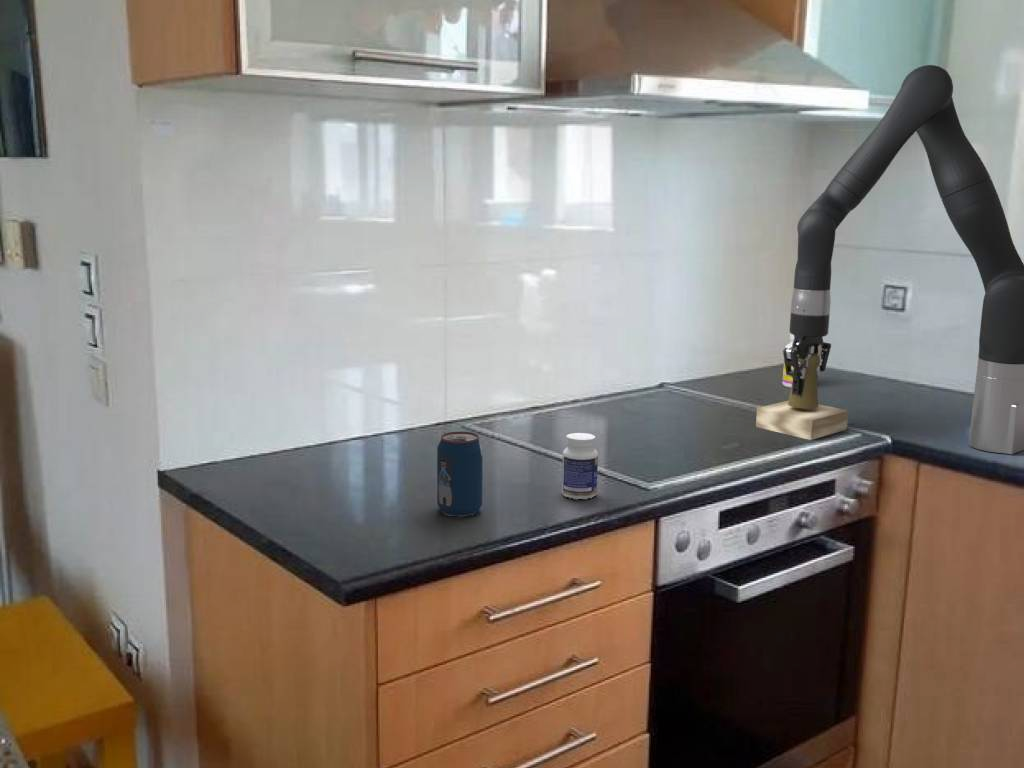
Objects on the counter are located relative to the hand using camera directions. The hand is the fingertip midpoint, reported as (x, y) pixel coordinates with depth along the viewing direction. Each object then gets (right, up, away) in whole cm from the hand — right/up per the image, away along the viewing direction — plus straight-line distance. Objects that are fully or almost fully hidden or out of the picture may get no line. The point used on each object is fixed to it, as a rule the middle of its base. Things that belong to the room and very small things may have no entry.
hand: (804, 394), depth 211 cm
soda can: (-68, -18, -51) cm, 87 cm away
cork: (0, -2, +1) cm, 2 cm away
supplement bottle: (+10, +1, +41) cm, 42 cm away
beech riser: (0, -7, +2) cm, 7 cm away
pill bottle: (-49, -16, -42) cm, 67 cm away
